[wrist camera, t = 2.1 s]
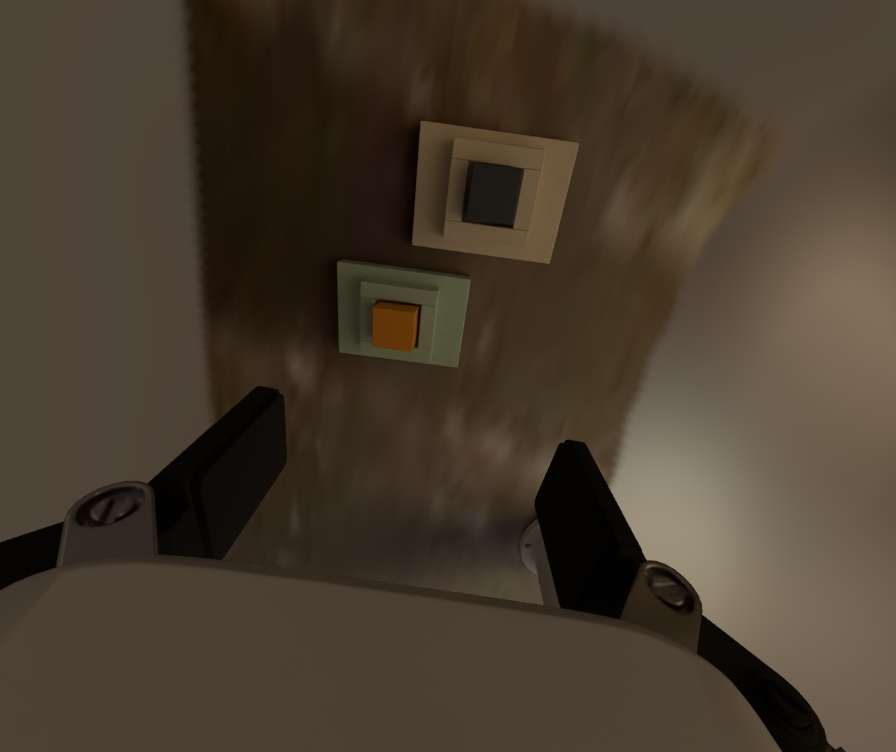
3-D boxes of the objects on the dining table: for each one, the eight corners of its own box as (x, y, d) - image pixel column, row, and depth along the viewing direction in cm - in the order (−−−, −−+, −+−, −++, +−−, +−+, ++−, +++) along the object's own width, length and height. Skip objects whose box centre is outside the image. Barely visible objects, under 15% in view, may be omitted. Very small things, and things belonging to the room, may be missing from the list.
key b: (418, 306, 27) (415, 313, 25) (415, 343, 28) (412, 352, 26) (379, 300, 27) (372, 307, 25) (378, 338, 28) (371, 347, 26)
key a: (518, 173, 22) (523, 168, 20) (509, 224, 24) (513, 225, 22) (472, 166, 22) (472, 161, 20) (465, 218, 24) (465, 218, 22)
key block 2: (572, 147, 24) (588, 136, 21) (544, 261, 28) (555, 266, 25) (423, 126, 24) (417, 112, 21) (414, 243, 28) (408, 247, 24)
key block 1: (470, 276, 28) (471, 283, 25) (457, 360, 32) (457, 376, 29) (343, 258, 28) (328, 264, 25) (344, 345, 32) (331, 359, 29)
